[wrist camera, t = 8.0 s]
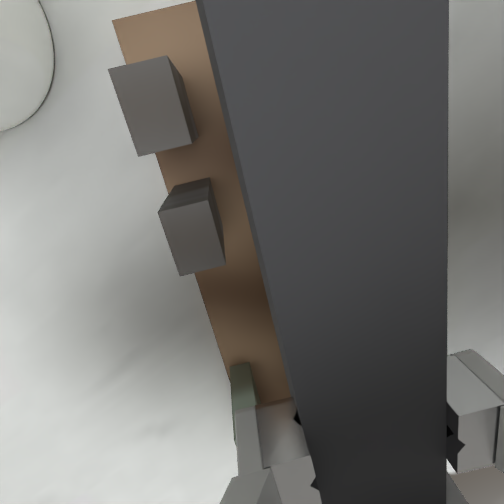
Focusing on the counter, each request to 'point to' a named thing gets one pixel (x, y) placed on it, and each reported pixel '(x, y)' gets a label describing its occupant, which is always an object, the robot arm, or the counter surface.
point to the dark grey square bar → (349, 224)
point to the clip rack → (200, 190)
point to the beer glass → (23, 60)
